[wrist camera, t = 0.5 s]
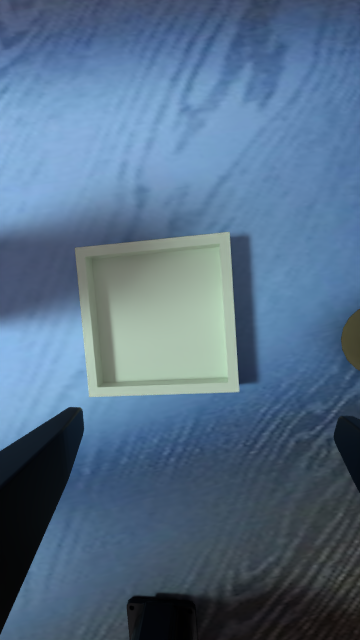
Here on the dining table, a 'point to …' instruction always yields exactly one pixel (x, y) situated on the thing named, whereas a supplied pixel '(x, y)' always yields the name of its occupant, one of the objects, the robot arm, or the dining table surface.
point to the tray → (159, 316)
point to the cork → (352, 339)
